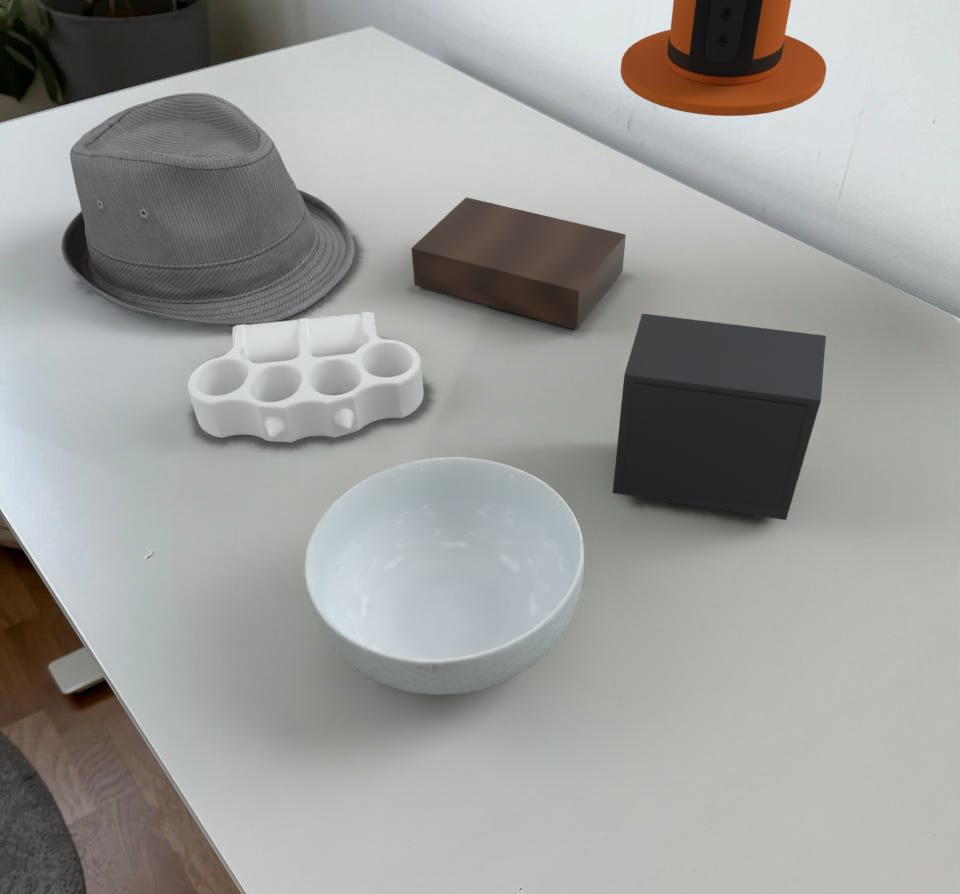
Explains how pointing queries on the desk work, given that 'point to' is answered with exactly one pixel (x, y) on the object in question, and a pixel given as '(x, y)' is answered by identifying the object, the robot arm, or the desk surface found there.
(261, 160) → the fedora
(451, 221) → the brown wooden block
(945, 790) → the desk surface
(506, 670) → the cereal bowl
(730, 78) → the top hat
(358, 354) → the white brass knuckles
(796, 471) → the dark grey cabinet box
